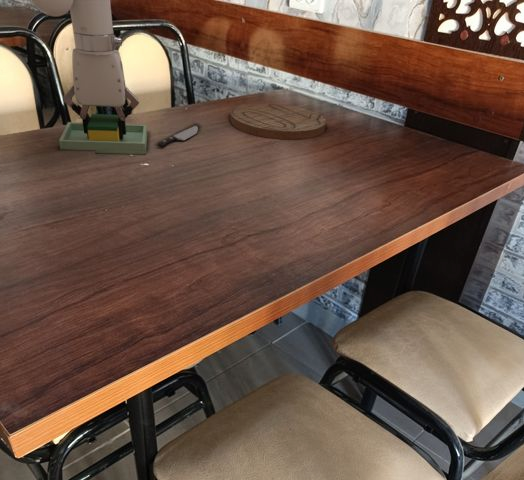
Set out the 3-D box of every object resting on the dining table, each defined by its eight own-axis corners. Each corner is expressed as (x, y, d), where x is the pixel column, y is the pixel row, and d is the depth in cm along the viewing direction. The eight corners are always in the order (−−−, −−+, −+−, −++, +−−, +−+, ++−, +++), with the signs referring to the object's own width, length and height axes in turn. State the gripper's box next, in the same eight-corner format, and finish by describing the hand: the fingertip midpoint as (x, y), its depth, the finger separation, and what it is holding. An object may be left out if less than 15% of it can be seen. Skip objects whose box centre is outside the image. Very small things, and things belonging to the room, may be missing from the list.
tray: (60, 152, 106) (58, 140, 104) (69, 132, 115) (67, 122, 114) (145, 154, 108) (144, 143, 107) (147, 135, 118) (146, 124, 117)
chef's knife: (207, 129, 125) (196, 126, 126) (207, 124, 124) (196, 121, 125) (168, 150, 111) (156, 147, 112) (168, 145, 110) (156, 142, 111)
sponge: (89, 145, 108) (87, 126, 105) (94, 132, 114) (91, 113, 112) (118, 146, 108) (116, 127, 106) (121, 133, 115) (119, 114, 113)
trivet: (275, 106, 146) (276, 98, 145) (344, 129, 134) (345, 121, 133) (210, 118, 132) (210, 110, 131) (280, 145, 119) (281, 137, 118)
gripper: (140, 42, 104) (146, 133, 115) (52, 37, 101) (67, 130, 113) (138, 49, 98) (145, 144, 110) (45, 44, 95) (62, 142, 107)
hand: (105, 136), depth 111 cm, fingers closed on sponge, 6 cm apart
